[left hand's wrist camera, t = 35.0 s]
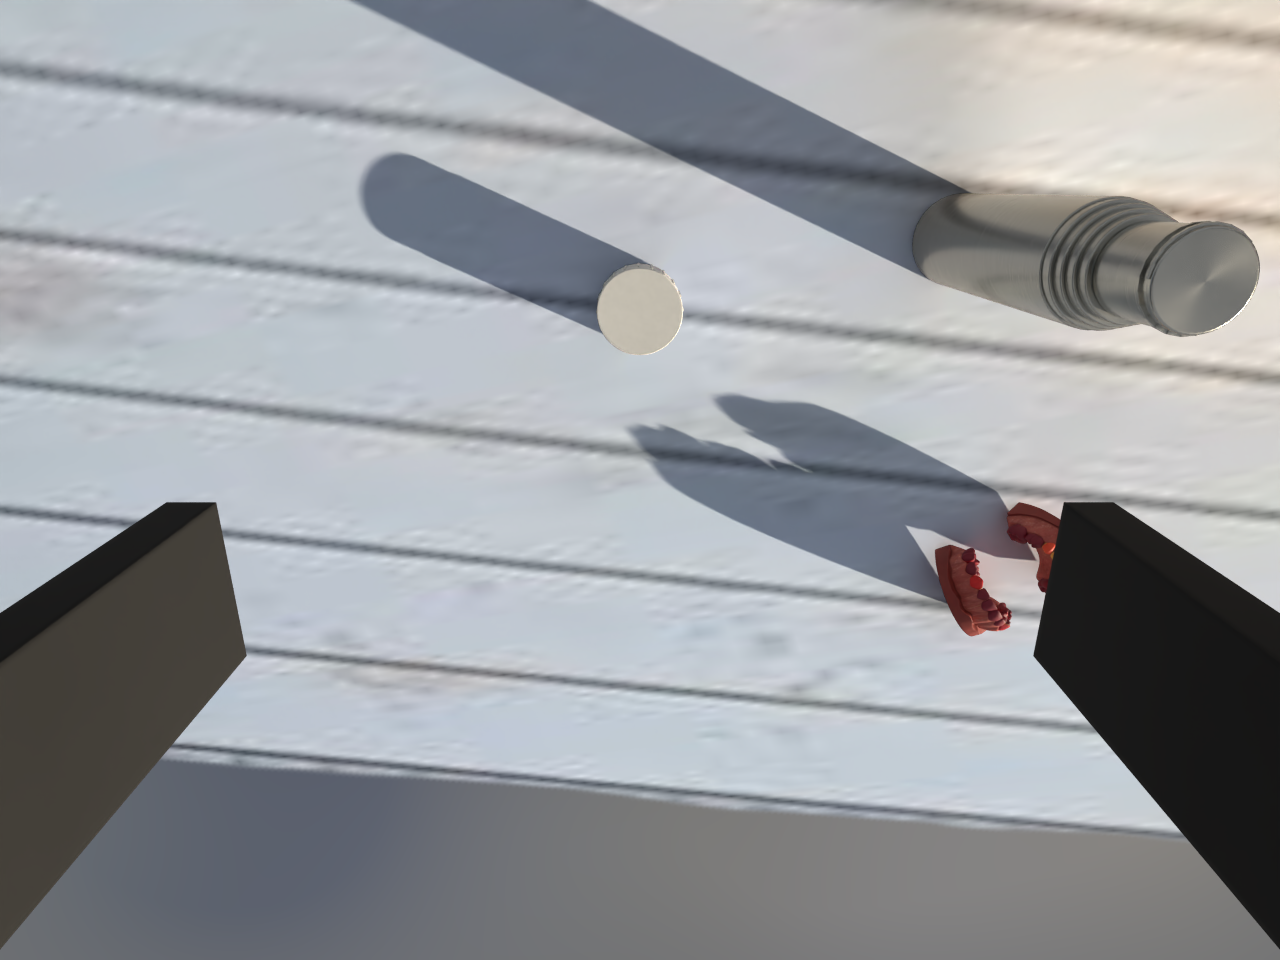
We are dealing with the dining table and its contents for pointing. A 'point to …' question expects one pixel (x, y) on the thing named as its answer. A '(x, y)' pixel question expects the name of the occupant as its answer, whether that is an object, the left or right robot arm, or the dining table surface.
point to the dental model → (965, 584)
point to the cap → (639, 309)
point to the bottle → (1089, 260)
